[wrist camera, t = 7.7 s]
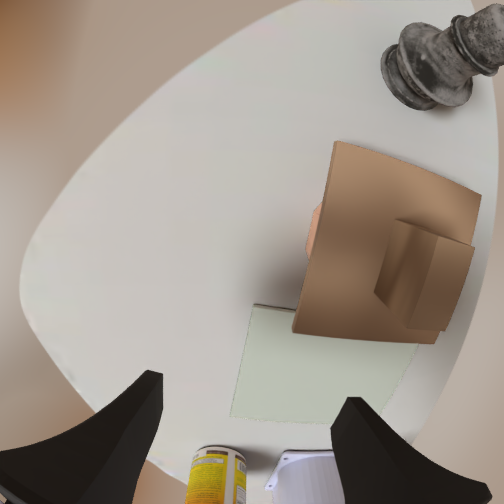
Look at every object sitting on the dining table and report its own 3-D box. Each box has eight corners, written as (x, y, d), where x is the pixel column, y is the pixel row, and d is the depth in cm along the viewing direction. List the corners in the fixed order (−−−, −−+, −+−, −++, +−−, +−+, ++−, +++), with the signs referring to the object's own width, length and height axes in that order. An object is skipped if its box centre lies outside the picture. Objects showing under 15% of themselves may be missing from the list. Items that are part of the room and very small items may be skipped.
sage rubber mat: (374, 419, 22) (375, 422, 22) (230, 413, 22) (229, 416, 21) (423, 325, 19) (426, 327, 19) (253, 304, 19) (253, 306, 18)
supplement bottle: (184, 457, 24) (169, 533, 14) (210, 437, 23) (198, 527, 13) (228, 474, 25) (222, 546, 15) (257, 456, 24) (258, 538, 14)
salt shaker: (445, 63, 14) (555, 20, 2) (440, 127, 15) (575, 114, 4) (380, 28, 13) (473, -58, 2) (371, 94, 15) (499, 24, 3)
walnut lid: (429, 339, 16) (464, 378, 11) (291, 327, 15) (303, 381, 11) (475, 194, 13) (527, 204, 9) (334, 141, 13) (370, 128, 8)
